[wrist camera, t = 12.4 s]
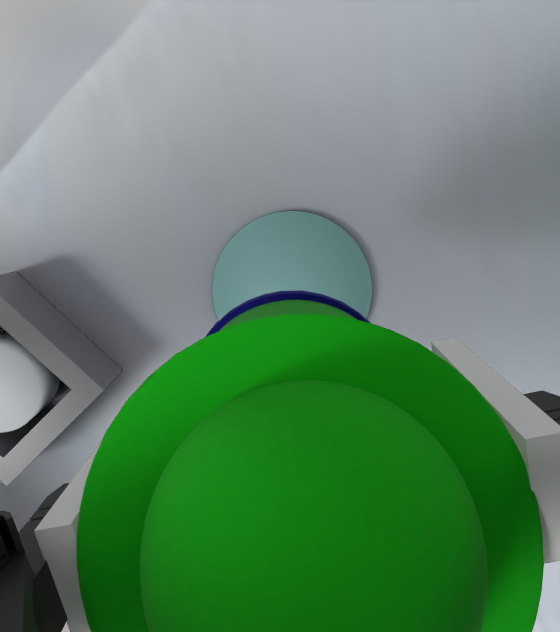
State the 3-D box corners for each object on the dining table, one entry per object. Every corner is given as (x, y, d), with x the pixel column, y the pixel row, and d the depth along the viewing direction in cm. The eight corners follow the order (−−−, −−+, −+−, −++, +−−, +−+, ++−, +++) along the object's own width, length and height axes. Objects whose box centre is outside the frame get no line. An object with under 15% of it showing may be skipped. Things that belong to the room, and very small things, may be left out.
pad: (233, 380, 38) (232, 382, 38) (195, 230, 36) (194, 230, 35) (383, 350, 37) (384, 351, 37) (355, 195, 35) (356, 195, 35)
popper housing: (34, 457, 40) (6, 486, 36) (-72, 366, 38) (-113, 386, 34) (122, 370, 38) (104, 390, 34) (15, 271, 36) (-17, 280, 33)
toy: (201, 465, 22) (40, 970, 8) (173, 264, 21) (-109, 440, 6) (410, 449, 22) (647, 943, 8) (402, 243, 20) (699, 374, 6)
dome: (22, 430, 38) (0, 449, 35) (-44, 372, 37) (-73, 388, 34) (76, 375, 37) (59, 390, 34) (10, 314, 36) (-14, 325, 33)
